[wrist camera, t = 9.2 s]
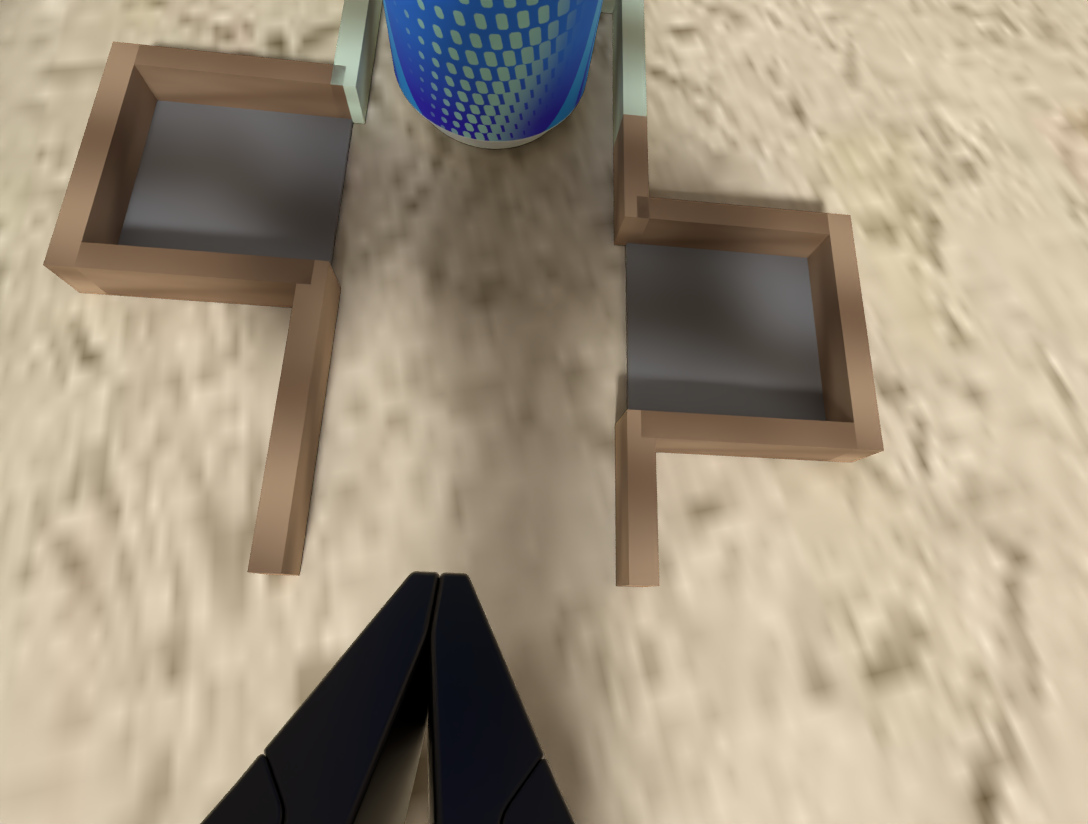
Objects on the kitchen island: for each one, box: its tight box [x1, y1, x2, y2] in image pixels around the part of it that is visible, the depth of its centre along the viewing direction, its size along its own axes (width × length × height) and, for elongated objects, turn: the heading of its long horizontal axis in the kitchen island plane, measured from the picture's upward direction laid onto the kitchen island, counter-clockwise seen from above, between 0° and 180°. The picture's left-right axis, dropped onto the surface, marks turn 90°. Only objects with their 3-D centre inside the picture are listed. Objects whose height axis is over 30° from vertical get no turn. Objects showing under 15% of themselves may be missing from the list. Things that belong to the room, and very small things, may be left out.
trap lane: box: [43, 0, 884, 587], centre depth 23 cm, size 28×30×4 cm
